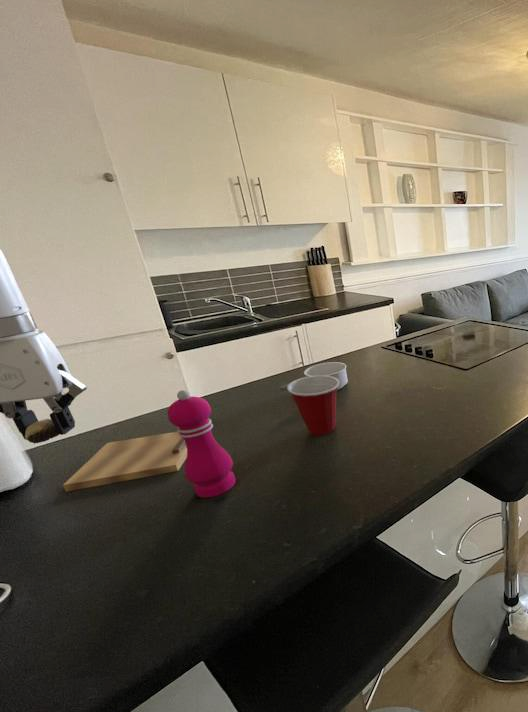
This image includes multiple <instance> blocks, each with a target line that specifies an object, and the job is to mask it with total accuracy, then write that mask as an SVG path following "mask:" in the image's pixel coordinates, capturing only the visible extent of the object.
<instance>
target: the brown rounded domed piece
mask: <svg viewBox="0 0 528 712" xmlns="http://www.w3.org/2000/svg"><path fill="white" fill-rule="evenodd" d="M59 435H60V434H58V432H57V430H56V428H55V426H54V424H53V422H52V420H51V418H43V419H41V420H38V422H35V423H33V424H31V425H30V426H28V427H27V429H26V434H25V439H26V440H25V439H24V440H25V441H28V442H29V443H32V444H34V445H35V444H39V443H44V442H47V441H49V440H50V439H53V438H56V437H58V436H59Z"/></svg>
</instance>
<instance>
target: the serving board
mask: <svg viewBox="0 0 528 712" xmlns="http://www.w3.org/2000/svg"><path fill="white" fill-rule="evenodd" d="M186 458H187V446H186V443H185V440H184V439H183V437H180V436H179V432H178V431H172V432H166V433H160V434H154V435H147V436H142V437H141V436H140V437H136V438H135V437H133V438H129V439H123V440H118V441H117V440H116V441H110V442H106V444H104V445H103V446H102V447H101V448H100V449H99V450H98V451H96V453H94V455H93V456H92V457H90V459H89V460H88V461H86V462H85V463H84V464H83V465H82V466H81V467H80V468H79V469H78V470H77V471H76V472H75V473H74V474H73V475H72V476H71V477H70V478H69V479H67V480H66V482H64V483H63V484H62V487H63V489H64V490H65V493H66V492H71V491H76V490H82V489H88V488H94V487H99V486H103V485H109V484H115V483H120V482H126V481H131V480H136V479H142V478H147V477H152V476H158V475H164V474H168V473H170V474H171V473H175V472H178V471H180V469H181V467H182V466H183V464H185V462H186Z"/></svg>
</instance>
